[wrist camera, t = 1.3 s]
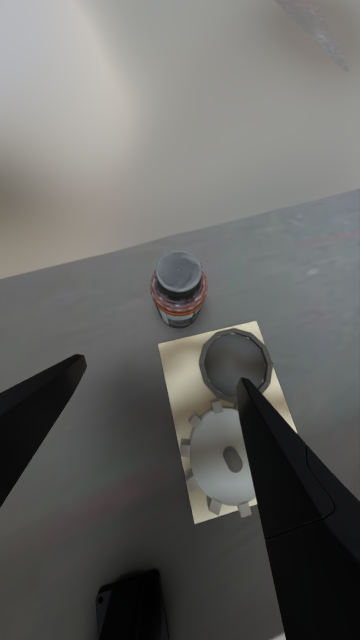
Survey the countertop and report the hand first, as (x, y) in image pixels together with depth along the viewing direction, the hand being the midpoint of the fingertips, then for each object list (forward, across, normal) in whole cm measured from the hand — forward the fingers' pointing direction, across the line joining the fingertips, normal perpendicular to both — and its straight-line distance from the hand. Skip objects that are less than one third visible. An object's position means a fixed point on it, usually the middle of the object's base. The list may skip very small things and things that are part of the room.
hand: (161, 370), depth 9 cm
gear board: (+7, -8, +13) cm, 16 cm away
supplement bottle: (+16, 0, +4) cm, 16 cm away
